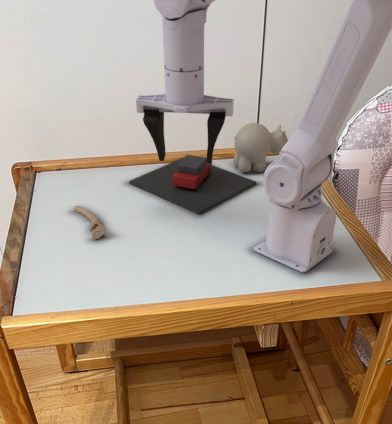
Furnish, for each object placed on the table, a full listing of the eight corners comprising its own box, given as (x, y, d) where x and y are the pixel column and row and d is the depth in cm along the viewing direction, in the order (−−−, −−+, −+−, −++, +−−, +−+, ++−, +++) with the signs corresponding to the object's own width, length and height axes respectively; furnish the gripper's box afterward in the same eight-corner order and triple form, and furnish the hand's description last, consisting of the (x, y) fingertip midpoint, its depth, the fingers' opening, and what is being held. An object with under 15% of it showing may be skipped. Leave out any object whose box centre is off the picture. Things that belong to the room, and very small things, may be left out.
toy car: (172, 189, 96) (195, 193, 95) (171, 168, 93) (195, 172, 92) (190, 170, 102) (212, 173, 101) (190, 149, 99) (212, 153, 98)
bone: (87, 207, 92) (85, 196, 91) (107, 237, 84) (106, 226, 83) (73, 210, 91) (71, 199, 90) (92, 241, 84) (90, 229, 82)
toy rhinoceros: (297, 172, 102) (303, 128, 96) (237, 176, 101) (239, 132, 95) (286, 157, 107) (292, 114, 102) (229, 161, 106) (231, 118, 100)
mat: (256, 184, 98) (256, 181, 98) (199, 214, 90) (199, 212, 89) (187, 158, 107) (187, 155, 107) (129, 183, 99) (129, 181, 98)
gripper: (128, 72, 72) (136, 167, 82) (232, 76, 71) (228, 172, 80) (138, 59, 78) (145, 150, 87) (236, 62, 76) (232, 154, 85)
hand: (185, 159), depth 84 cm, fingers open, 7 cm apart
